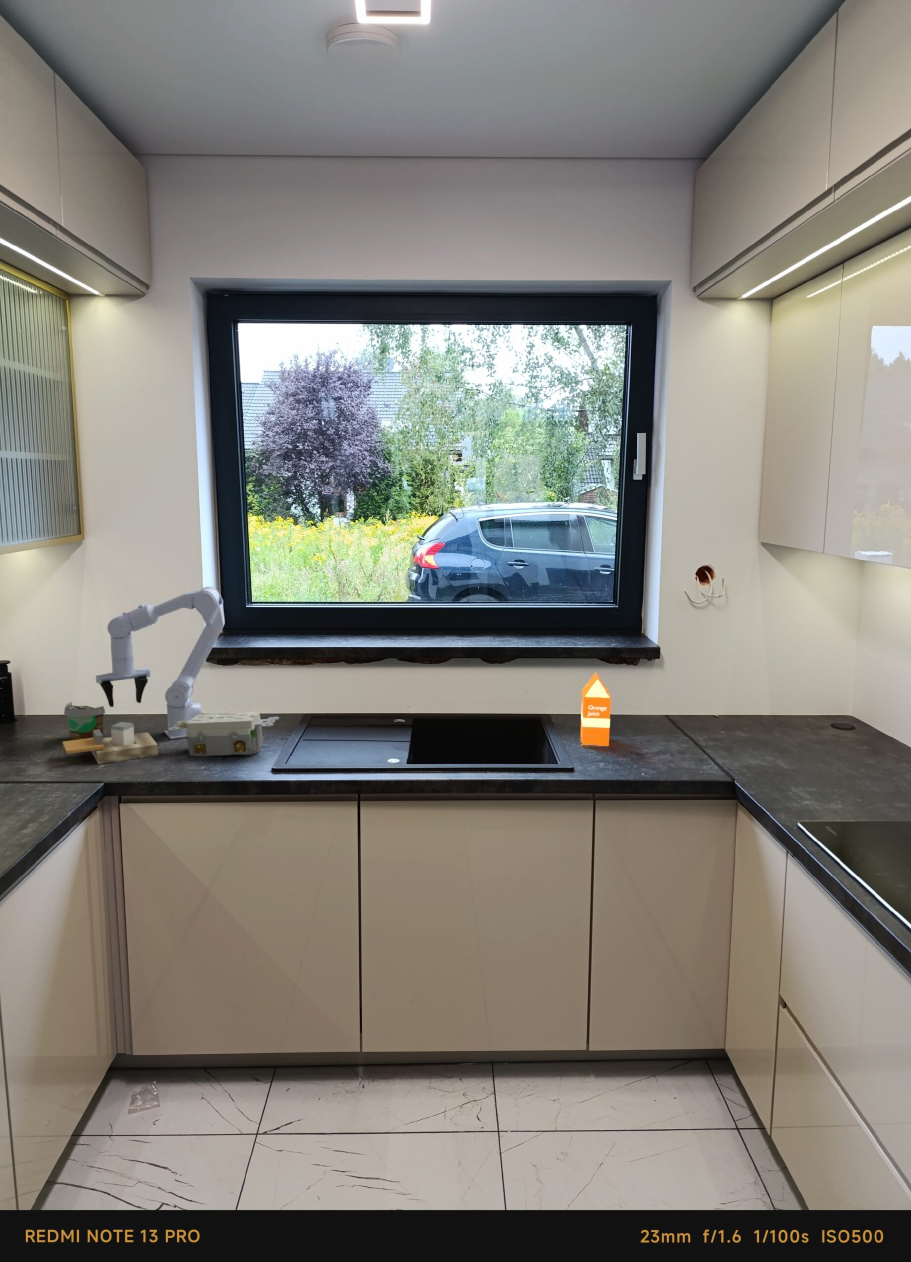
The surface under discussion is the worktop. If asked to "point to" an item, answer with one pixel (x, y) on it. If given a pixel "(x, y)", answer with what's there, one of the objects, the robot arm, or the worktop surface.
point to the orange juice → (595, 713)
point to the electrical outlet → (224, 733)
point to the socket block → (126, 749)
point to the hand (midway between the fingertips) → (125, 704)
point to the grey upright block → (122, 734)
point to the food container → (84, 720)
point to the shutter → (85, 743)
